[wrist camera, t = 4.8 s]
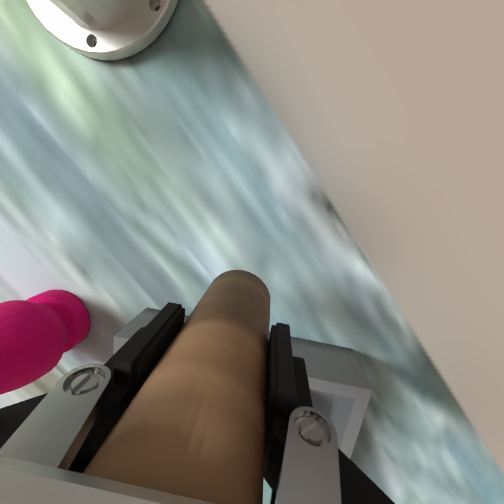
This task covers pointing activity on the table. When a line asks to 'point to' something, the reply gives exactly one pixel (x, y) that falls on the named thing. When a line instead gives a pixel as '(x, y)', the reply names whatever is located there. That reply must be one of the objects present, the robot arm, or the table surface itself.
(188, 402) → the peg
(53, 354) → the pepper mill
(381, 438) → the table surface
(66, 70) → the table surface
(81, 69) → the table surface
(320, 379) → the tray
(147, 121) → the table surface
